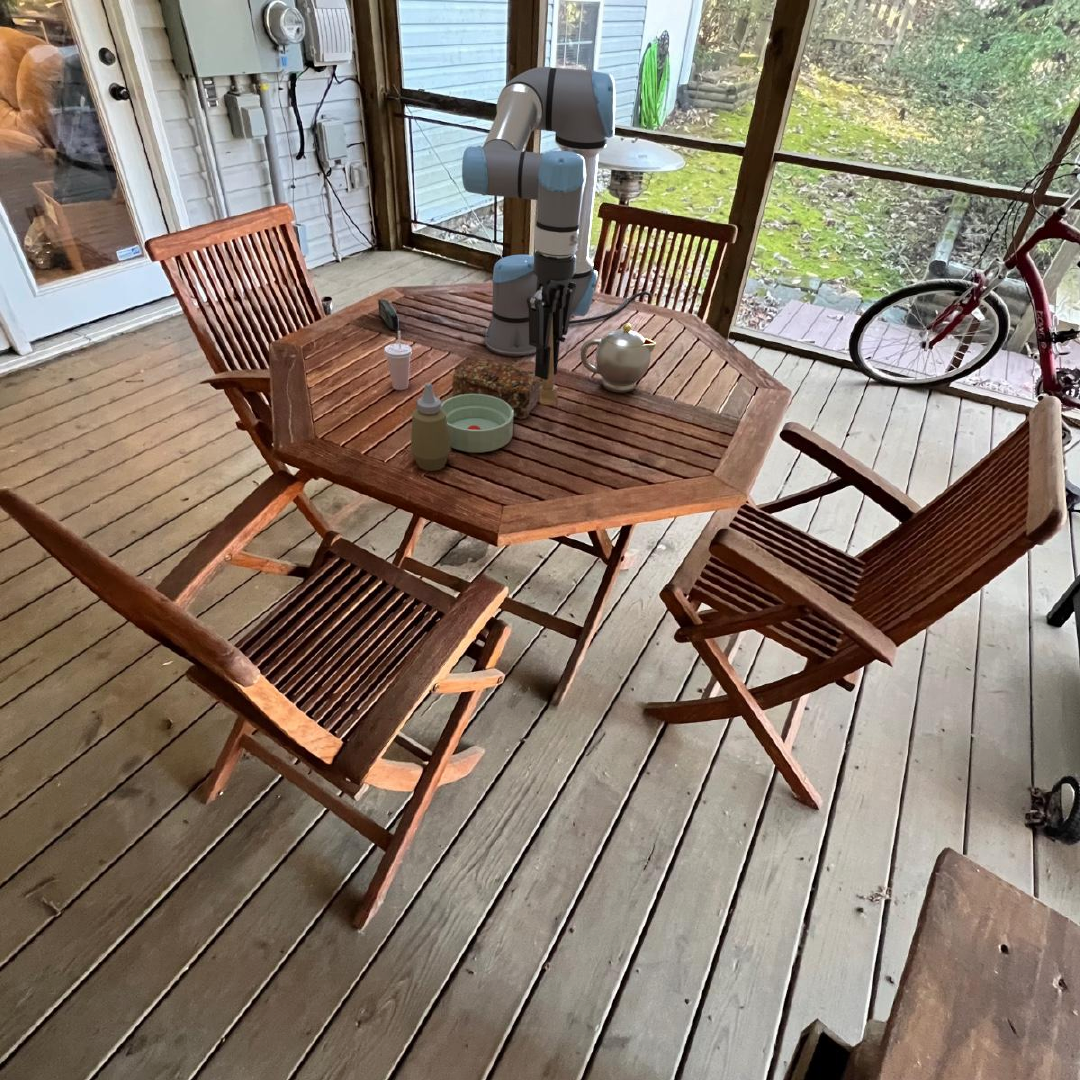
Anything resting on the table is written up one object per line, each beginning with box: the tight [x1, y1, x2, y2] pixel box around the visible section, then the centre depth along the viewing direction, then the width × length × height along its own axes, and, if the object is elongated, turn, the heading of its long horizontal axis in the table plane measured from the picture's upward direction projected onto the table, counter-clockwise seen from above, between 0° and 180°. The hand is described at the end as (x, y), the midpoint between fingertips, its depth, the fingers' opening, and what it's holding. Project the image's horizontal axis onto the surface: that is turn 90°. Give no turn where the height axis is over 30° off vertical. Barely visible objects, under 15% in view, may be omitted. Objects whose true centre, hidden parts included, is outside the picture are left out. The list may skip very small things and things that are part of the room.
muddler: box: [538, 316, 558, 406], centre depth 134 cm, size 4×4×20 cm
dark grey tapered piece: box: [377, 299, 402, 334], centre depth 193 cm, size 5×3×15 cm
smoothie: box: [383, 330, 413, 391], centre depth 162 cm, size 6×6×14 cm
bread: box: [451, 356, 541, 420], centre depth 160 cm, size 19×11×10 cm, turn 71°
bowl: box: [441, 394, 514, 454], centre depth 150 cm, size 16×16×6 cm
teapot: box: [579, 323, 657, 394], centre depth 170 cm, size 18×14×16 cm
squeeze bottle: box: [410, 382, 452, 472], centre depth 136 cm, size 8×8×18 cm
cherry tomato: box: [467, 425, 481, 430], centre depth 147 cm, size 4×4×4 cm
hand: (545, 374), depth 136 cm, fingers closed on muddler, 2 cm apart
